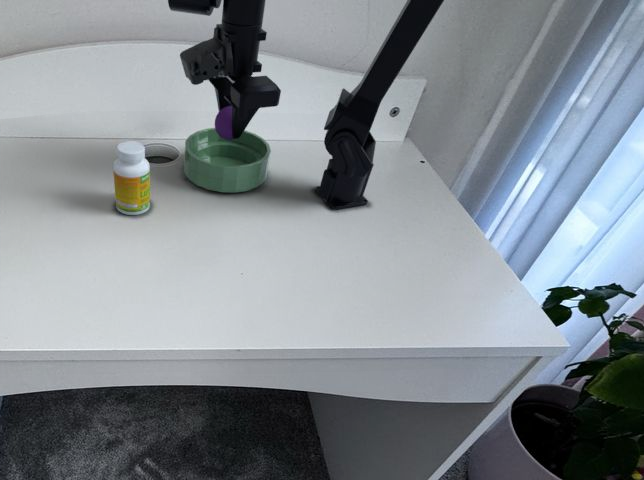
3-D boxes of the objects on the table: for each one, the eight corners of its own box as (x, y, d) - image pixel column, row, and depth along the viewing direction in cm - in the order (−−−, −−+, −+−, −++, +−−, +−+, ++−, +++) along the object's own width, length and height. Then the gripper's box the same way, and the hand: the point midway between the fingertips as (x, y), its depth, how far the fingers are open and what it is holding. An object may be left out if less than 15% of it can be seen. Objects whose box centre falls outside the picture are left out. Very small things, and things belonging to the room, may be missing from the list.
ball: (236, 130, 85) (240, 99, 81) (248, 143, 81) (252, 112, 78) (209, 133, 83) (211, 102, 80) (219, 147, 80) (223, 115, 77)
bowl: (246, 150, 93) (249, 123, 90) (279, 189, 84) (285, 161, 81) (173, 159, 90) (174, 132, 86) (200, 201, 81) (202, 172, 77)
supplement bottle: (145, 218, 77) (144, 158, 70) (111, 213, 78) (107, 153, 70) (153, 200, 81) (153, 141, 73) (121, 195, 81) (118, 136, 74)
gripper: (167, 4, 74) (165, 112, 86) (211, 45, 62) (202, 164, 74) (237, 1, 77) (226, 106, 88) (292, 39, 65) (271, 155, 76)
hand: (229, 131), depth 82 cm, fingers closed on ball, 5 cm apart
